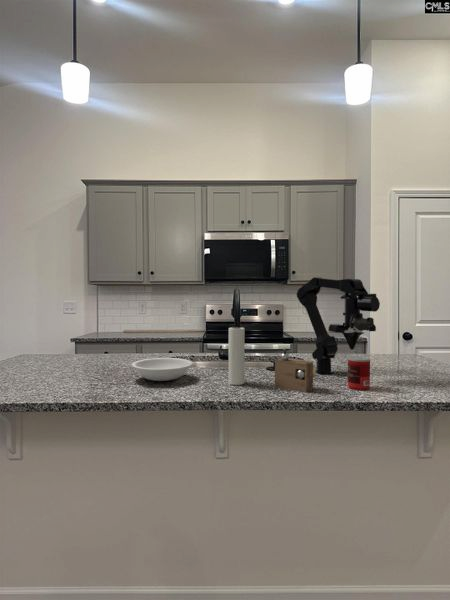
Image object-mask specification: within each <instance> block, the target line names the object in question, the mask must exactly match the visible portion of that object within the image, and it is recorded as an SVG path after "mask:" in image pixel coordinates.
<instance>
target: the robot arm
mask: <svg viewBox="0 0 450 600" xmlns="http://www.w3.org/2000/svg"><path fill="white" fill-rule="evenodd" d="M322 288H327V289H336V290H338V291H340V292H342V293H343V294H342V295H341V296H340V299H342V300H344V312H342V316H344V322H342V324H339V323H332V324H329V326H328V331H327V328H326V326H325V323H324V321H323V318H322V315H321V313H320V310H319V308H318V306H317V305H318V304H317V303H318V302H317V301H318V296H317V295H318V294H319V293H320V292H321V289H322ZM296 297H297V299H298V302H299V303H300V304H301V305H302V306H303V307H304V308H305V310H306V312H307V315H308V318H309V320H310V324H311V326H312V328H313V330H314V331H313V332H314V333H315V337H316V341H315V347H316V348H315V349H314V351H313V352H312V353H311V356H312V359H313V360H316V362H315V363H316V366H315V369H316V374H319V375H331V374H335V372H334V371H332V359H335V358H336V354H337V352H338V349H339V348H338V345H339V344H338V343H337V340H336V337H335V336H334V335H331V336H330V334H329V333H328V332H331V333H337V334H338V333H339V334H342V335H343V337H344V338H345V341H346V342H347V344H348V347H349V349H350V350H355V348H356V347H355V346H356V345H357V343H358V342H357V341H358V339H359V337H360V336H361V335H364V334H365V332H364V331H369V332H377V328H376V327H377V326H376V325H375V322H374V321H375V320H374V318H373V317H367V318H364V314H363V313H362V312H378V310H379V309H380V305H381V302H380V300H379V298H378V297H377V293H368V291H367V289H366V288H365V286H364V283H363V281H362V280H361V279H359V278H345V279H334V278H332V279H331V278H326V277H325V278H324V277H313V278H311V279H310V280H309V281H307V282H306V283H305V284H303V285H302V286H301V287H300V288H298V290H297V292H296Z"/></svg>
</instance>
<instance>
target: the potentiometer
mask: <svg viewBox="0 0 450 600" xmlns="http://www.w3.org/2000/svg"><path fill="white" fill-rule="evenodd" d="M280 357H281V360H282V361H288V360H289V359H290V357H289V353H288V352H287V348H283V352H281V355H280Z"/></svg>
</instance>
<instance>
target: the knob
mask: <svg viewBox="0 0 450 600" xmlns="http://www.w3.org/2000/svg"><path fill="white" fill-rule="evenodd" d="M316 374H317V373H316V366H314V365H313V378H315V377H316ZM296 375H297V377H298V378H300V379H301V378H304V377H305V370H299V371H297V373H296Z"/></svg>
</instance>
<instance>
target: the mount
mask: <svg viewBox="0 0 450 600" xmlns="http://www.w3.org/2000/svg"><path fill="white" fill-rule="evenodd" d="M313 366H314V361H311V360H305V359H295V358H289V360H288V361H282V360H281V358H278V359H275V360H274V388H277V389H278V388H279V389H284V390H289V391H296V392H300V393H308V392H310V391H312V390H314V377H313ZM299 370H305V377H304V378H301V379H300V378H298V377H297V375H296V373H297V371H299Z"/></svg>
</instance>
